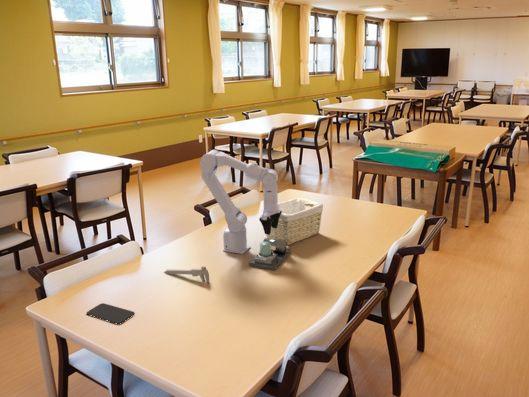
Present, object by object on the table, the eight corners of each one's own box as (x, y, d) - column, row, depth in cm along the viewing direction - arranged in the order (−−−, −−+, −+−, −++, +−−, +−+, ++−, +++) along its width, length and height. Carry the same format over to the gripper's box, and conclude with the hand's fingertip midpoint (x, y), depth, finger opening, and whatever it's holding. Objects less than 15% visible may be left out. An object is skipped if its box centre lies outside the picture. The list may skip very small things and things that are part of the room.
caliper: (209, 282, 165) (208, 266, 163) (207, 283, 164) (207, 268, 162) (165, 272, 174) (164, 257, 172) (163, 273, 173) (162, 258, 171)
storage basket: (298, 225, 220) (298, 196, 215) (324, 233, 208) (324, 203, 204) (262, 238, 204) (262, 207, 200) (288, 248, 193) (288, 215, 189)
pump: (258, 258, 176) (258, 245, 175) (262, 253, 180) (262, 240, 179) (273, 259, 174) (273, 246, 173) (277, 255, 178) (276, 242, 177)
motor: (248, 265, 177) (248, 250, 175) (266, 248, 192) (266, 234, 191) (275, 270, 172) (275, 255, 170) (291, 252, 188) (291, 238, 186)
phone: (102, 302, 151) (136, 312, 145) (102, 304, 151) (136, 314, 145) (84, 313, 145) (119, 323, 138) (85, 315, 145) (119, 326, 138)
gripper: (272, 205, 175) (273, 238, 179) (285, 195, 188) (286, 226, 192) (256, 204, 178) (257, 235, 182) (270, 194, 190) (270, 224, 194)
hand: (271, 230), depth 187 cm, fingers open, 7 cm apart
